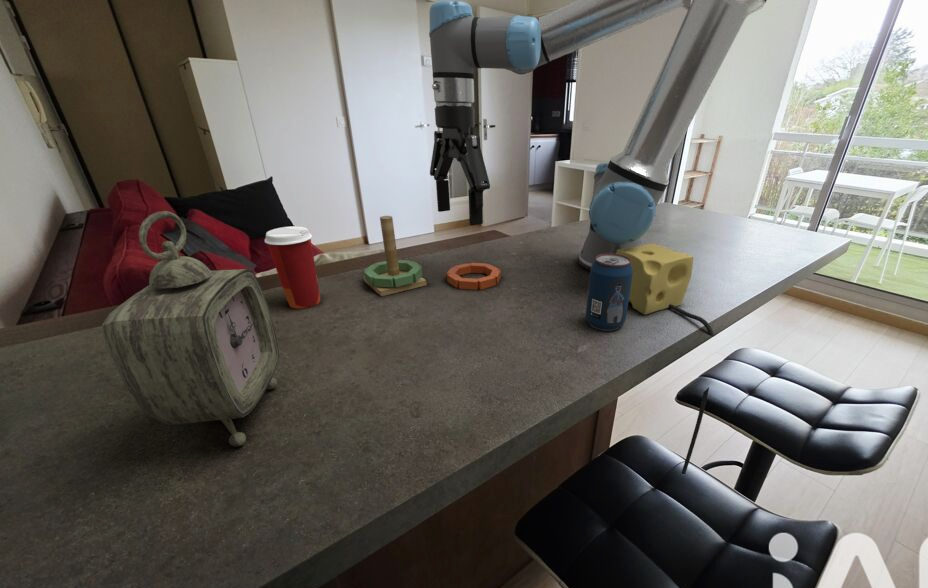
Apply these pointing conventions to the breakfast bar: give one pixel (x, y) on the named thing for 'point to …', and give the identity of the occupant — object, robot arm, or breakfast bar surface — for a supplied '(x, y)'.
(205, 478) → the breakfast bar surface
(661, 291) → the cheese
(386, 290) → the post stand
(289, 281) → the paper cup
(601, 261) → the soda can
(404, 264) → the green ring
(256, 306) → the tabletop clock
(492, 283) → the terracotta ring
